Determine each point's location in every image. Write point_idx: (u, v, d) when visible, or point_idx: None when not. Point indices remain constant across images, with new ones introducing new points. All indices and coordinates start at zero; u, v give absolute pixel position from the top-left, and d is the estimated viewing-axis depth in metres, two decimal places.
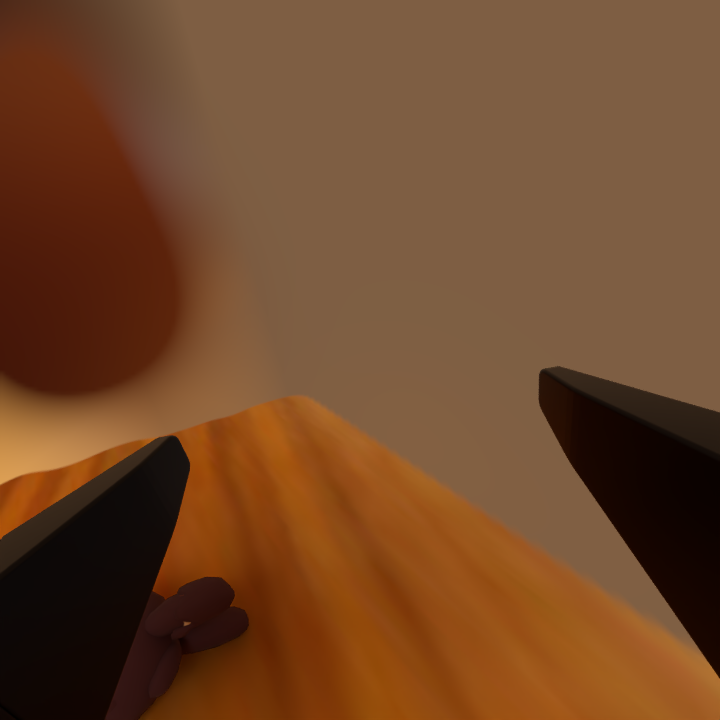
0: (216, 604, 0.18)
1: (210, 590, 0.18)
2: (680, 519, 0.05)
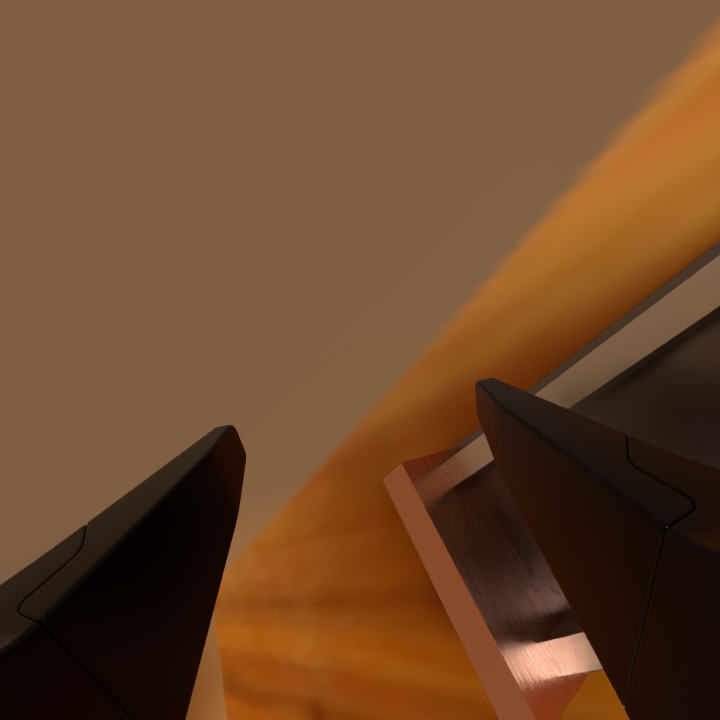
0: None
1: None
2: (576, 535, 0.06)
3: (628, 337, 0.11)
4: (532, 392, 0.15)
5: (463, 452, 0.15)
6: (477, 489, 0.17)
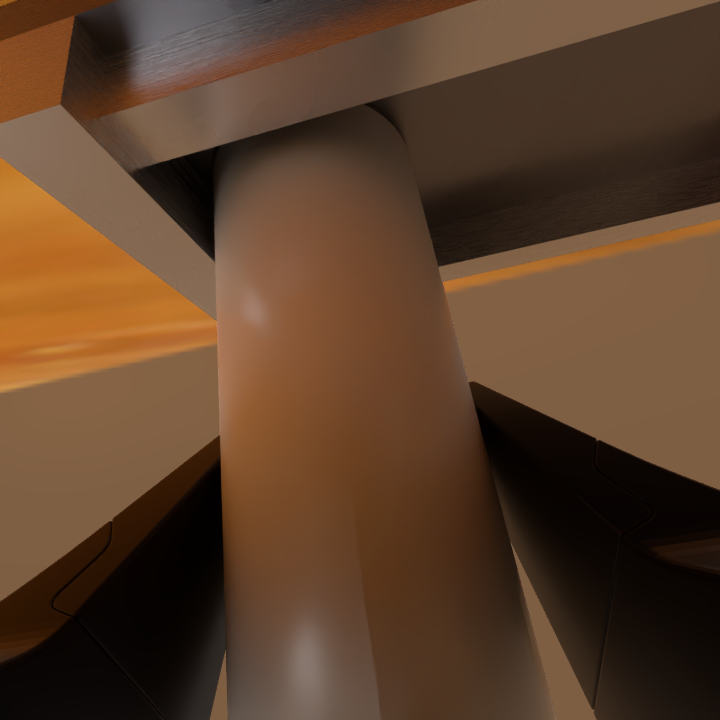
0: None
1: None
2: (546, 539, 0.06)
3: (527, 258, 0.12)
4: None
5: None
6: None
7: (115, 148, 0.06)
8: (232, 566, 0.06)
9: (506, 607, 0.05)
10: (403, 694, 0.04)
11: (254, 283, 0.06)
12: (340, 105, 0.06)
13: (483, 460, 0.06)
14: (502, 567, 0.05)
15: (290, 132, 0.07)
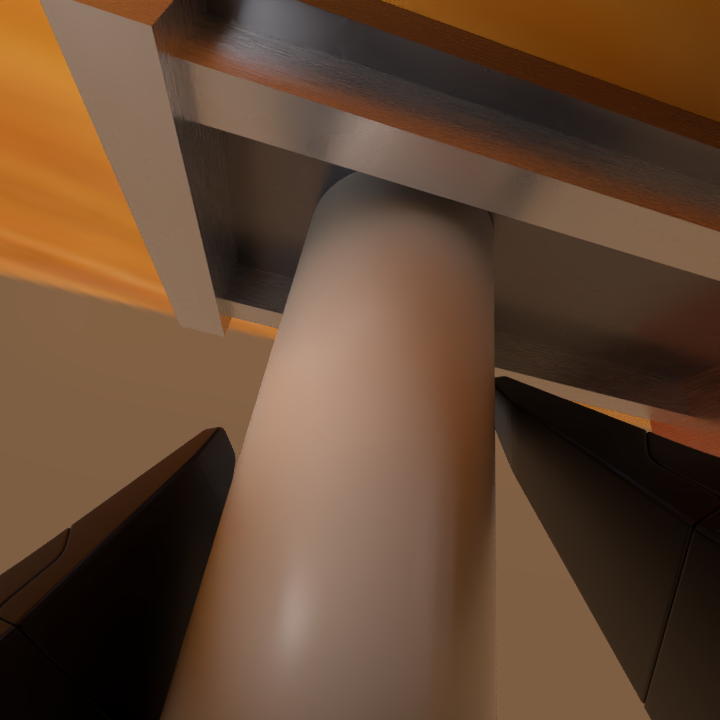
0: None
1: None
2: (595, 532, 0.06)
3: None
4: None
5: (634, 414, 0.15)
6: (691, 375, 0.14)
7: (174, 90, 0.06)
8: (248, 580, 0.05)
9: (495, 705, 0.05)
10: None
11: (368, 309, 0.07)
12: (389, 176, 0.07)
13: None
14: (495, 662, 0.06)
15: (435, 201, 0.08)
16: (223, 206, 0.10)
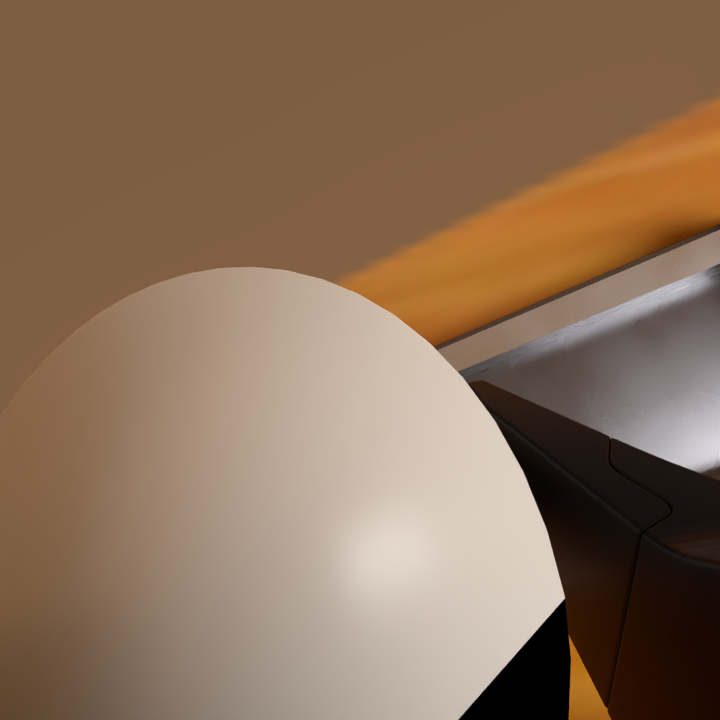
0: None
1: None
2: (560, 537, 0.06)
3: (504, 331, 0.13)
4: None
5: None
6: None
7: None
8: None
9: None
10: None
11: None
12: None
13: None
14: None
15: None
16: None
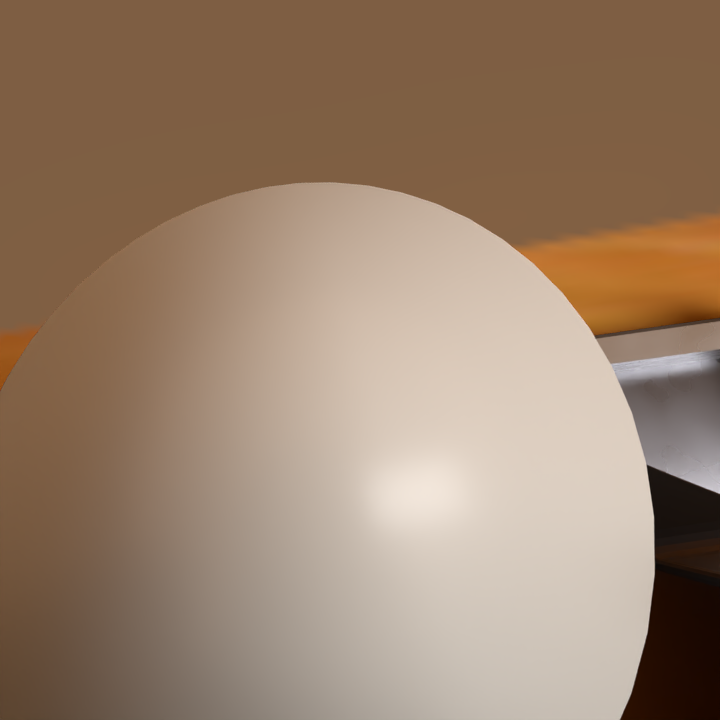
0: None
1: None
2: None
3: None
4: None
5: None
6: None
7: None
8: None
9: None
10: None
11: None
12: None
13: None
14: None
15: None
16: None
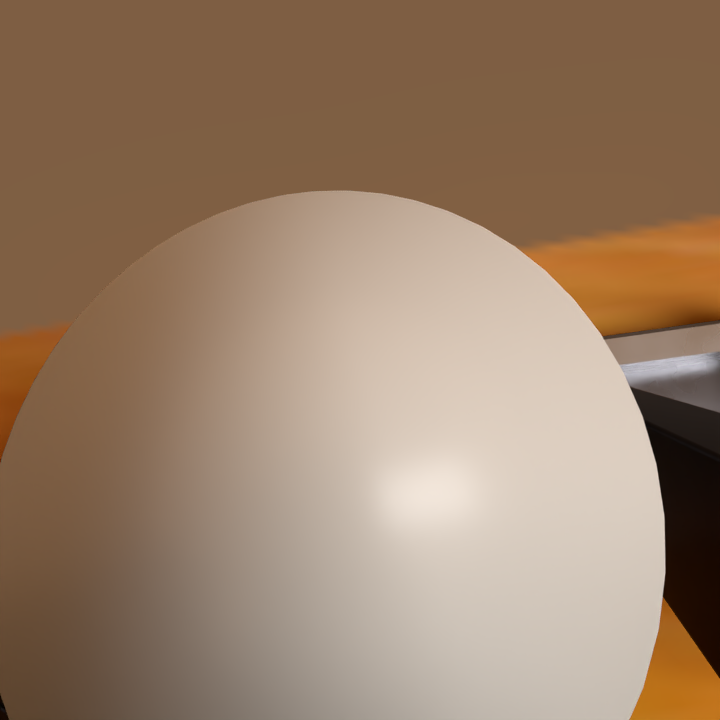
0: None
1: None
2: (680, 519, 0.05)
3: None
4: None
5: None
6: None
7: None
8: None
9: None
10: None
11: None
12: None
13: None
14: None
15: None
16: None
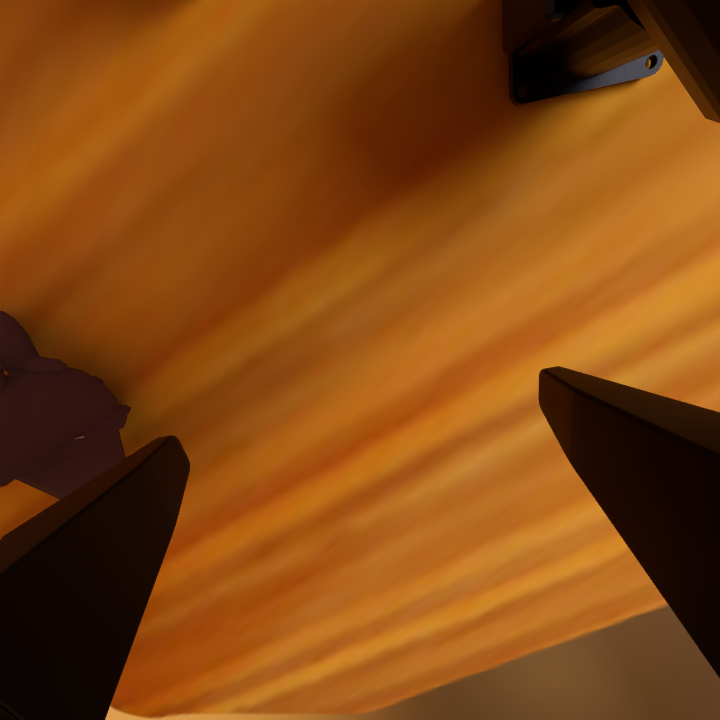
0: None
1: None
2: (680, 519, 0.05)
3: None
4: None
5: None
6: None
7: None
8: None
9: None
10: None
11: None
12: None
13: None
14: None
15: None
16: None
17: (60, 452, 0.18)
